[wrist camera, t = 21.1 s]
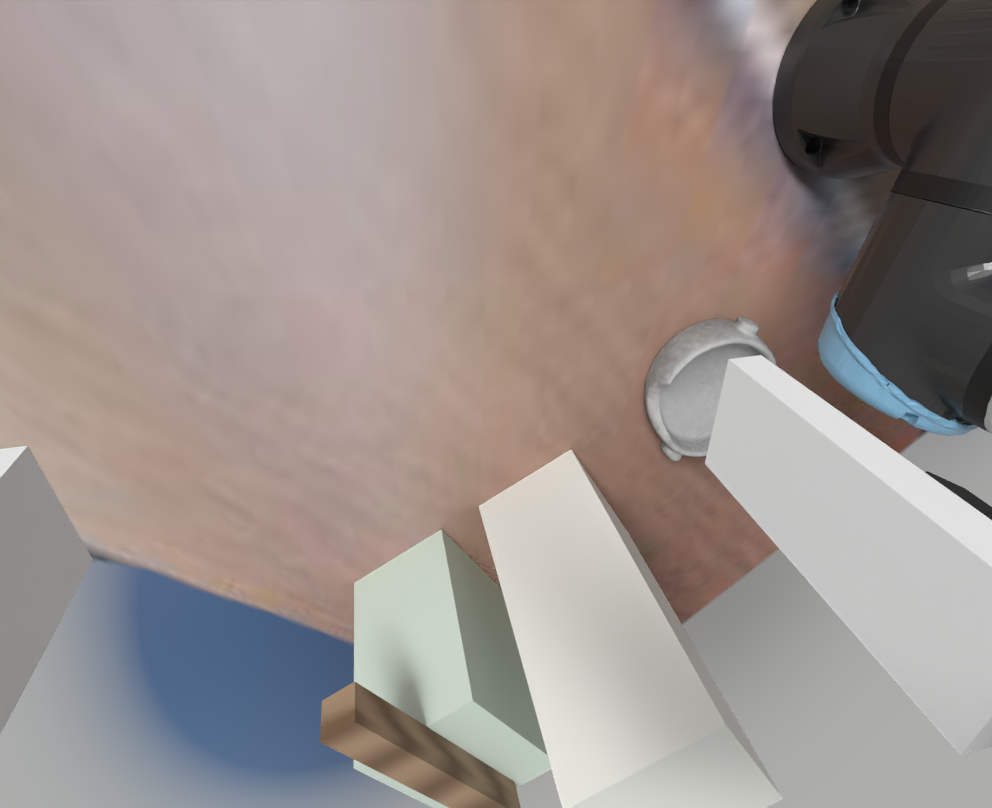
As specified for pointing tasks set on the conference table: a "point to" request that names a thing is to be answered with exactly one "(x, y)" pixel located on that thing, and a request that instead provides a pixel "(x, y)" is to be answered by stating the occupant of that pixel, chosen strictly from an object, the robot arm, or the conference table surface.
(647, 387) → the dish
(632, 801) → the off-white rectangular block
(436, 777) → the walnut bar
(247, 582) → the conference table surface
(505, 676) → the low stand
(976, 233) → the robot arm
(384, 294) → the conference table surface
